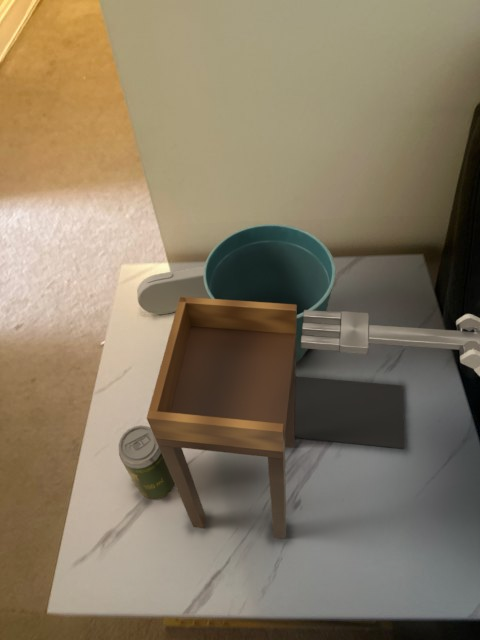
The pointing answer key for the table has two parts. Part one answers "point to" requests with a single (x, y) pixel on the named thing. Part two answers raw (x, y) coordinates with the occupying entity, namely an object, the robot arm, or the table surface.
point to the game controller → (170, 289)
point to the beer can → (145, 462)
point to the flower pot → (272, 270)
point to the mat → (349, 412)
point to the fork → (372, 333)
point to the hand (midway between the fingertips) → (462, 337)
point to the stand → (227, 391)
